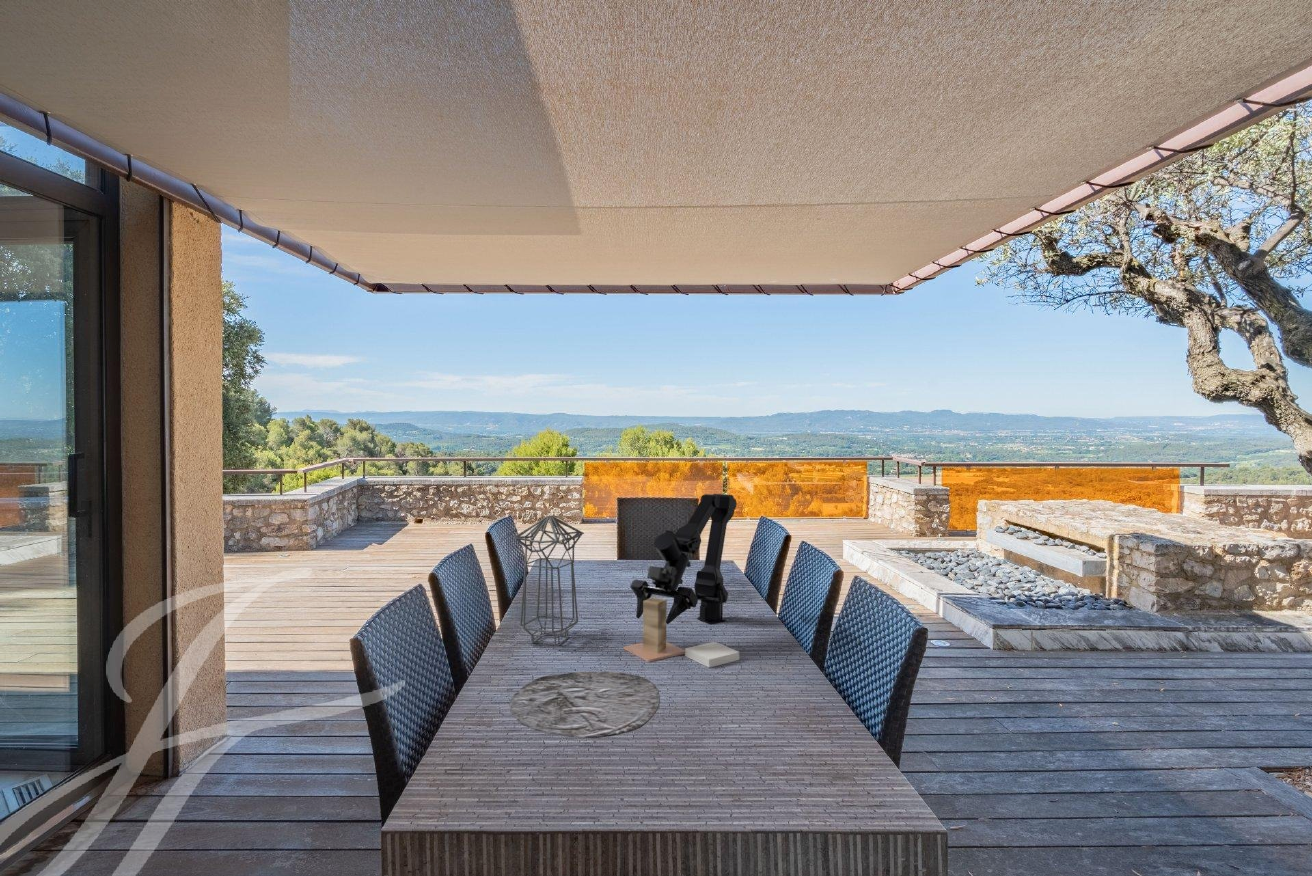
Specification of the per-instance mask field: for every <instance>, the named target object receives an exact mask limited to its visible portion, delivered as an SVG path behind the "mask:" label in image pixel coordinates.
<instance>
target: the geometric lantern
mask: <svg viewBox="0 0 1312 876" xmlns="http://www.w3.org/2000/svg"><path fill="white" fill-rule="evenodd" d="M548 522H549V523H550V526H551V527H550V528H551V530H547V529H546V528H547V526H548ZM562 525H563V526H565V527H568V528H569V529H571V530H573V531H568V530H566V529H565V528H564V527H563V526H562ZM528 531H529V532H528ZM527 532H528V533H527ZM540 532H541V534H540V535H541V536H540V538H539V540H535V538H536V536H537V535H538V534H539V533H540ZM526 533H527V534H526ZM524 534H525V535H524ZM550 534H553V536H554V537H552V536H551V535H550ZM572 534H573V535H572ZM584 534H585V533H584V532H583V531H581V530H579V529H578V528H575V527H573V526H572V525H570V524H568V523H566V522H565V521H562V520H561V519H559V518H557V517H555V516H553V515H546V516H545V517H544V518H542V519H540V520H538V521H537V522H535V523H534V524H533V525H531V526H529V527H528V528H526V529H525V530H523V531H521V532H520V533H518V534H516V535H514V537H513V539H514V540H515V541H516V542H518V543H519V544H520V545H521V546H523V547H524V552H525V553H524V569H523V582H522V584H523V585H522V594H521V608H520V620H519V621H520V623H519V627H520V629H522V630H524V631H525V632H526V633H527V634H529V635H530V637H531V638H530V642H531V643H532V644H541V645H550V646H559V645H561V644H562V643H564V642H565V641H566V640H568V639H569V638H570V637H569V631H570V630H571V629H572V628H573V627H575V625H577V624H578V623H579V614H578V604H577V603H578V602H577V592H576V591H577V590H576V581H575V579H576V578H575V569H574V566H575V565H574V564H575V563H574V562H575V547H576V546H575V545H576V544H577V542H579V540H580V538H581V537H582V536H583V535H584ZM544 535H546V536H547V537H548V538H549V539H551V540H543V537H544ZM560 536H561V540H560ZM570 541H572V545H571V544H570ZM527 542H529V544H527ZM534 543H535V544H536V543H537V544H538V549H536V547H535V546H534ZM546 543H548V544H547V545H546V546H544V547H543V548H542V547H541V544H546ZM549 543H550V544H549ZM557 544H560V545H563V548H564V549H565V551H564V552H563V555H562V556H561V557H560V558H554V557H553V558H551V557H550V556H551V554H552V552H553V551H554V549H555V547H556V546H557ZM570 545H571V546H570ZM551 546H552V548H551V550H550V551H549V553H548V554H546V553H545V550H546V549H549V547H551ZM570 550H572V555H571V554H570V552H569V551H570ZM528 551H529V552H530V554H529V556H528V555H527V554H528ZM533 553H536V554H537V556H538V557H539V558H537V559H534V560H531V561H530V559H531V557H532V554H533ZM539 553H542V555H543V557H542V556H541V554H539ZM566 553H567V554H568V556H569V557H568V558H569V559H566V558H565V556H566ZM550 560H554V561H559V563H558V564H557V566H553V565H552V562H550ZM537 561H539V565H529V564H532V563H535V562H537ZM542 561H545V566H542ZM562 561H568V562H569V563H566V564H563V565H561V562H562ZM548 565H549V566H548ZM560 565H561V566H560ZM569 565H570V573H571V577H570V579H571V580H570V581H571V607H572V617H568V616H567V617H566V616H563V609H562V608H563V607H562V591H561V590H562V589H561V576H560V574H561V573H560V569H562V568H563V567H566V566H569ZM527 567H528V568H529V567H530V568H538V584H537V587H538V588H537V602H536V603H537V604H536V616H535V617H534V618H532V619H530V620H528V621H526V611H527V610H526V609H527V606H526V603H527V600H526V599H527V569H528V568H527ZM541 569H545V605H544V606H545V609H544V610H545V615H539V613H540V612H539V611H540V593H541V576H542V573H541V572H542V570H541ZM548 569H550V593H551V594H550V596H551V597H550V598H551V599H550V601H551V607H550V608H551V615H548ZM553 570H557V584H558V585H557V586H558V599H559V601H558V602H559V604H558V605H559V616H556V615H555V616H554V575H553V573H554V571H553ZM542 618H545V620H544V626H543V625H542V623H541V620H540V619H542ZM547 618H549V619H550V618H551V626H546V625H547ZM554 619H558V620H559V619H560V627H554V625H555V623H554V622H555V621H554ZM535 620H537V621H538V624H539V625H540V628H531V627H526V625H528V624H529V623H531V622H533V621H535ZM563 620H571V621H570V623H569V624H568V625H567V626H565V627H564V624H563V623H564V622H563ZM546 629H547V630H546ZM548 629H549V630H548ZM531 631H533V633H532V632H531ZM538 632H540V634H536V633H538ZM557 633H559V634H557ZM547 635H548V636H547ZM561 637H565V638H564V639H563V640H560V638H561ZM539 638H547V639H548V638H549V639H553V640H554V643H550V642H541V641H535V640H536V639H539Z"/></svg>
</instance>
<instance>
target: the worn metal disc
mask: <svg viewBox="0 0 1312 876" xmlns="http://www.w3.org/2000/svg"><path fill="white" fill-rule="evenodd" d="M509 702H510V703H509V713H510V714H511V715H512V717H513V718H514V719H515V720H516V721H518V722H519V723H520V724H521V725H523V726H524V727H527V728H529V729H531V730H534V731H537V732H542V733H544V734H548V735H558V736H563V737H567V738H575V739H576V738H580V739H581V738H582V739H596V738H598V739H600V738H603V737H604V738H605V737H606V738H607V737H613V736H617V735H621V734H627V733H630V732H632V731H635V730H637V729H641V728H642V727H643V726H645V724H646V723H648V722H649V721H650V720H651V719H652V717H653V716H654V715H655V714H656V712H657V710H658V709H659V706H660V695H659V689H658V688H657V686H656V685H655V684H654V683H653V681H651V680H650V679H647V678H645V677H643V676H640V675H636V674H632V673H628V672H627V673H626V672H619V671H607V670H606V671H604V670H603V671H602V670H601V671H600V670H598V671H597V670H596V671H595V670H593V671H575V672H573V671H572V672H567V673H560V674H550V675H545V676H544V675H543V676H541V677H538V678H535V679H534V680H532V681H530V682H528V683H527V684H525V685H524V686H523V687H521V688H520V689H518V690H517V691H516V692H515V693H514V694H513V696H512V698H511V699H510V700H509Z"/></svg>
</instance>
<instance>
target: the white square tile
mask: <svg viewBox="0 0 1312 876" xmlns="http://www.w3.org/2000/svg"><path fill="white" fill-rule="evenodd" d="M684 650H685V654H684V656H685V657H686V658H688V659H691V660H693V661H695V662H697V663H699V664H701V665H703V666H705V667H707V668H712V667H717V666H720V665H725V664H729V663H733V662H735V661H740V651H738V650H736V649H733V648H731V647H729V646H726V645H724V644H722V643H719V642H717V641H711V642H707V643H703V644H699V645H695V646H690V647H686V648H684Z"/></svg>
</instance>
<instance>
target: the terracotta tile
mask: <svg viewBox="0 0 1312 876" xmlns="http://www.w3.org/2000/svg"><path fill="white" fill-rule="evenodd" d="M623 650H625V651H627V653H628V652H629V653H631V654H632V655H634V656H636V657H638V658H640V659H641V660H643V661H645V662H648V663H650V662H655V661H660V660H662V659H668V658H671V657H676V656H680V655H685V649H683V648H681V647H678V646H677V645H674V644H673V643H670V642H668V641H666V648H665V649H664V650H662V651H660V652H658V653H656V652H651V651H647V650H643V642H639V643H635V644H634V643H633V644H631V645H630V644H629V645H625V646H624V645H623Z"/></svg>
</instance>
